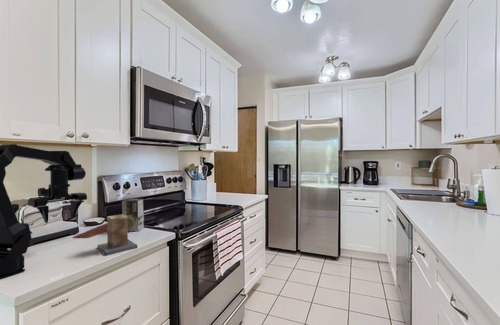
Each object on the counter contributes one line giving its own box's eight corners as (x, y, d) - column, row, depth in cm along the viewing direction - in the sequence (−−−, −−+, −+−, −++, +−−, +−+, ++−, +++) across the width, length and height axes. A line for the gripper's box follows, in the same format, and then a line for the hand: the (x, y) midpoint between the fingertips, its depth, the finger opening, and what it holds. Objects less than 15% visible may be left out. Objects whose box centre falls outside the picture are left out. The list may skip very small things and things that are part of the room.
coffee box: (144, 228, 137) (144, 198, 137) (138, 231, 131) (137, 200, 131) (128, 227, 138) (128, 198, 138) (121, 230, 132) (121, 200, 132)
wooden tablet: (107, 224, 146) (107, 221, 146) (123, 225, 145) (123, 222, 145) (68, 239, 120) (68, 235, 120) (87, 240, 119) (87, 236, 119)
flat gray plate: (106, 255, 98) (106, 247, 98) (97, 247, 107) (97, 240, 107) (137, 247, 107) (137, 240, 107) (126, 241, 115) (126, 234, 115)
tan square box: (112, 248, 103) (111, 219, 102) (107, 245, 107) (107, 216, 107) (127, 244, 107) (127, 216, 107) (122, 241, 111) (122, 214, 111)
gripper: (73, 179, 113) (73, 213, 113) (20, 182, 97) (21, 223, 97) (87, 180, 108) (88, 216, 108) (35, 184, 91) (35, 226, 92)
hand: (59, 220), depth 101 cm, fingers open, 9 cm apart
